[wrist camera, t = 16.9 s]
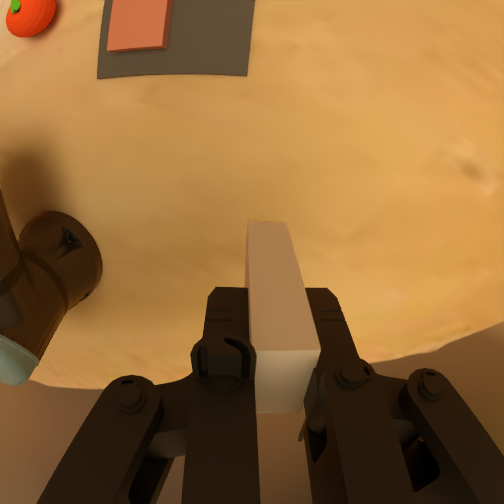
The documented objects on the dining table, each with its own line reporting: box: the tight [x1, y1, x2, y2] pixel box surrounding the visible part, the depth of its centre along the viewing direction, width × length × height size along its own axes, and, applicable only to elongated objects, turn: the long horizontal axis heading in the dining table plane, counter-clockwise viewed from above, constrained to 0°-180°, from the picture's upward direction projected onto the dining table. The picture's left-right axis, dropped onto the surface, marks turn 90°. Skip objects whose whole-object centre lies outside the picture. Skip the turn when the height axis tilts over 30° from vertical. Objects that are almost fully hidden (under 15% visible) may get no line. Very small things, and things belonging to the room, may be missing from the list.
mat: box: [97, 0, 255, 79], centre depth 26 cm, size 18×15×1 cm
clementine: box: [6, 0, 56, 37], centre depth 20 cm, size 8×7×7 cm
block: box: [107, 0, 173, 52], centre depth 24 cm, size 2×9×6 cm
